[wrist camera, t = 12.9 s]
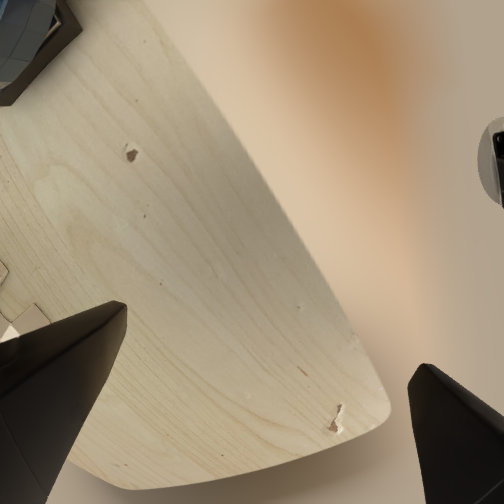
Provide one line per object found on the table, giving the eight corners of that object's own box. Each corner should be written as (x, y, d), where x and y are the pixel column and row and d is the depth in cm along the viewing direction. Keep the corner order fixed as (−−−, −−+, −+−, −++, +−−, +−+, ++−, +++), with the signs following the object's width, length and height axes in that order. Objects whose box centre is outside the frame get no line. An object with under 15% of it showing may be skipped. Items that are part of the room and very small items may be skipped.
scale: (48, -27, 13) (30, -37, 11) (83, 30, 15) (63, 21, 13) (-16, 44, 15) (-36, 41, 12) (10, 106, 17) (-12, 107, 15)
